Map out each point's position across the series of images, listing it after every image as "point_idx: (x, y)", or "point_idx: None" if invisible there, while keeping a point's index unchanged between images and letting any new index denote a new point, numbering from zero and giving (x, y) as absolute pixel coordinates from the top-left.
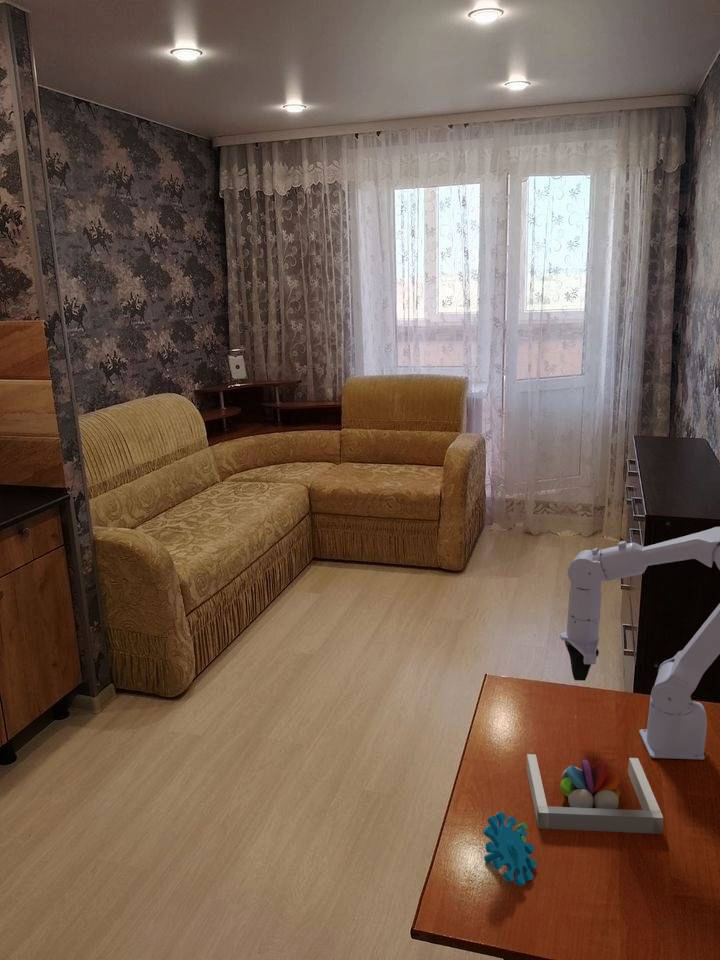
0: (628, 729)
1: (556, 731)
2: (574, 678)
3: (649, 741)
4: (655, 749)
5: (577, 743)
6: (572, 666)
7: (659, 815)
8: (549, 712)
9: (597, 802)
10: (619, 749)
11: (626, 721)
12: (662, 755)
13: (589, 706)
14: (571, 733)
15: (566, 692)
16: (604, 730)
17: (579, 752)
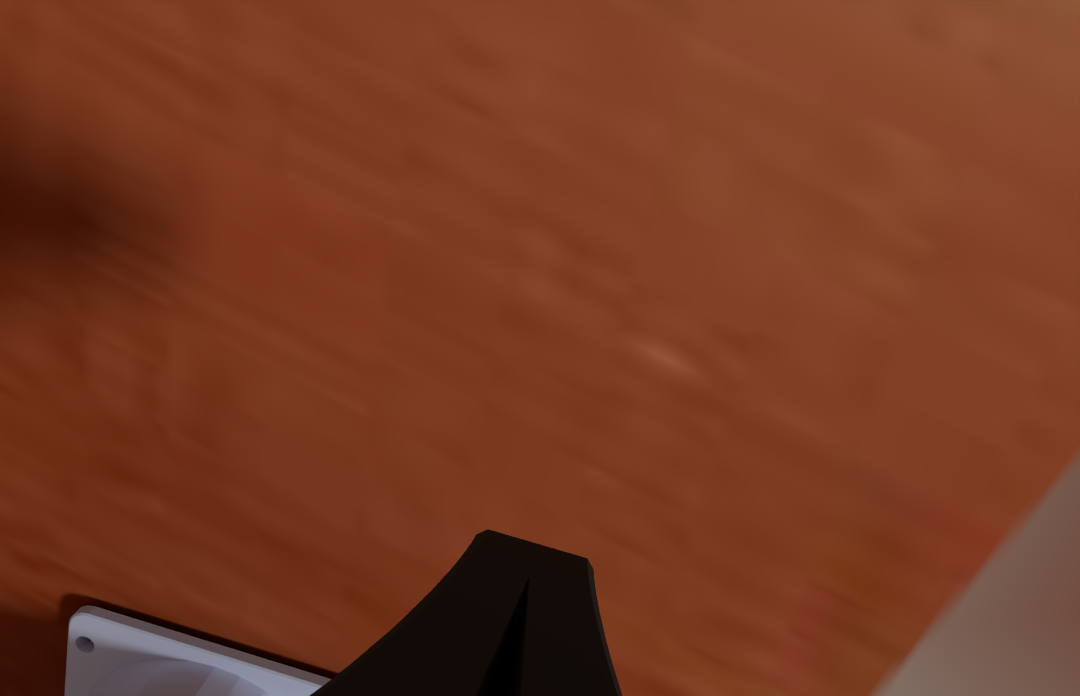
0: None
1: (479, 82)
2: (474, 543)
3: (164, 683)
4: (124, 670)
5: (285, 192)
6: (423, 664)
7: None
8: (795, 152)
9: None
10: (190, 465)
11: None
12: (74, 673)
13: (775, 541)
14: (428, 207)
15: (1063, 466)
16: (427, 484)
17: (166, 151)
